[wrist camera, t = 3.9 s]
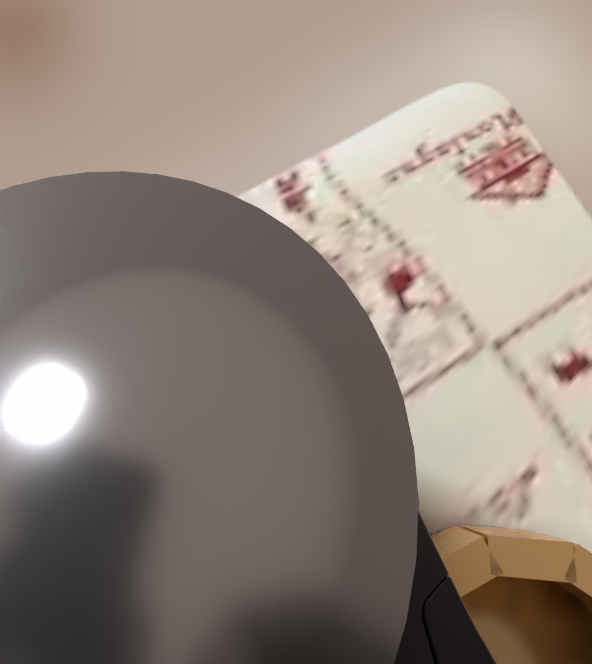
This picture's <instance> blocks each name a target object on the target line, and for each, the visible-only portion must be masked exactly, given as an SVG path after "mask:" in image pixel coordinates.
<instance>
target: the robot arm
mask: <svg viewBox="0 0 592 664" xmlns="http://www.w3.org/2000/svg"><path fill="white" fill-rule="evenodd" d="M448 575H449V572H448V570H447V568H446V566H445V564H444V562H443V560H442V558H441V556H440V554H439V552H438V550H437V548H436V546H435V543H434V541H433V539H432V537H431V535H430V533H429V531H428V529H427V527H426V525H425V523H424V521H423V519H422V517H421V515H420V512H419V510H418V528H417V555H416V564H415V571H414V577H413V583H412V589H411V596H410V602H409V608H408V614H407V620H406V624H405V627H404V631H403V634H402V638H401V641H400V645H399V648H398V652H397V655H396V659H395V662H394V664H497V663H496V661H495V660H494V658H493V656H492V654H491V653H490V651H489V649H488V647H487V646H486V644H485V642H484V640H483V639H482V637H481V635H480V633H479V632H478V630H477V628H476V626H475V624H474V622H473V620H472V618H471V616H470V614H469V612H468V610H467V608H466V606H465V605H464V603H463V601H462V599H461V597H460V595H459V593H458V591H457V588H456V586H455V584H454V582H453V580H452V578H451V577H450V576H448Z"/></svg>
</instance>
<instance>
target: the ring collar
mask: <svg viewBox="0 0 592 664" xmlns="http://www.w3.org/2000/svg"><path fill="white" fill-rule="evenodd" d="M431 537H432V539H433V541H434V543H435V546H436V548H437V550H438V552H439V554H440V556H441V558H442V560H443V562H444V564H445V566H446V568H447V570H448V572H449V575H448V576H450V577H451V578H452V580H453V582H454V584H455V586H456V588H457V591H458V593H459V595H460V597H461V599H462V601H463V603H464V605H465V606H466V608H467V610H468V612H469V614H470V616H471V618H472V620H473V622H474V624H475V626H476V628H477V630H478V632H479V633H480V635H481V637H482V639H483V640H484V642H485V644H486V646H487V647H488V649H489V651H490V653H491V654H492V656H493V658H494V660H495V661H496V663H497V664H592V553H590V552H589V551H587V550H586V549H584V548H583V547H581V546H580V545H578V544H574V543H572V542H569V541H565V540H562V539H558V538H554V537H551V536H547V535H543V534H539V533H536V532H532V531H528V530H519V529H507V528H499V527H492V526H471V525H460V524H458V527H457V526H454V525H453V526H451V527H450V528H448V529H446V530H444V531H440V532H437V533H435V534H433V535H431Z"/></svg>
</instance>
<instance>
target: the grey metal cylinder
mask: <svg viewBox="0 0 592 664" xmlns="http://www.w3.org/2000/svg"><path fill="white" fill-rule="evenodd" d="M417 528H418V490H417V478H416V467H415V455H414V446H413V441H412V437H411V432H410V427H409V423H408V418H407V413H406V409H405V404H404V399H403V396H402V394H401V391H400V388H399V385H398V382H397V379H396V376H395V374H394V371H393V368H392V365H391V362H390V359H389V357H388V354H387V352H386V350H385V348H384V346H383V344H382V342H381V340H380V338H379V336H378V334H377V332H376V330H375V328H374V326H373V324H372V322H371V320H370V318H369V317H368V315H367V313H366V312H365V311H364V309H363V308H362V306H361V305H360V303H359V302H358V300H357V299H356V297H355V296H354V294H353V293H352V292H351V290H350V289H349V287H348V286H347V284H346V283H345V281H344V280H343V279H342V278H341V277H340V276H339V275H338V274H337V273H336V271H335V270H334V269H333V268H332V267H331V266H330V265H329V264H328V262H327V261H326V260H325V259H324V258H323V257H322V256H321V255H320V254H319V253H318V252H317V251H316V250H315V249H314V248H313V247H311V246H310V245H309V244H308V243H307V242H306V241H304V240H303V239H302V238H301V237H300V236H299V235H297V234H296V233H295V232H294V231H293V230H291V229H290V228H289V227H287V226H286V225H284V224H283V223H281V222H280V221H278V220H277V219H275V218H273V217H272V216H270V215H269V214H267V213H266V212H264V211H263V210H261V209H260V208H258V207H256V206H253V205H251V204H249V203H247V202H245V201H243V200H241V199H239V198H237V197H235V196H233V195H230V194H228V193H226V192H223V191H220V190H216V189H214V188H211V187H208V186H205V185H202V184H199V183H196V182H193V181H188V180H183V179H178V178H172V177H168V176H163V175H158V174H146V173H135V172H123V171H122V172H86V173H78V174H71V175H63V176H56V177H49V178H45V179H41V180H37V181H32V182H28V183H24V184H20V185H15V186H12V187H9V188H6V189H3V190H0V664H394V662H395V659H396V655H397V652H398V648H399V645H400V641H401V638H402V634H403V631H404V627H405V624H406V620H407V614H408V608H409V602H410V596H411V589H412V583H413V577H414V571H415V564H416V555H417Z"/></svg>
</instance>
